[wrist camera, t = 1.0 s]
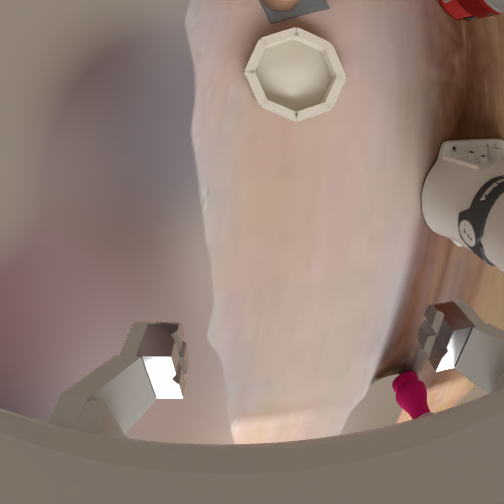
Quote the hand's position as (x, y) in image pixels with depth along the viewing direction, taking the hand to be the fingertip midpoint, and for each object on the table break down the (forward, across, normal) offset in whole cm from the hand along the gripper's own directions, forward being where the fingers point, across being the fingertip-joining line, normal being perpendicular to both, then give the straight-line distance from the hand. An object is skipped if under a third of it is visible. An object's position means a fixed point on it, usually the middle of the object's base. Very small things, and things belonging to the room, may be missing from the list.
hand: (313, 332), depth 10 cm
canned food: (+35, -32, -29) cm, 56 cm away
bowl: (+35, -5, -11) cm, 37 cm away
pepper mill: (+34, -33, +48) cm, 67 cm away
